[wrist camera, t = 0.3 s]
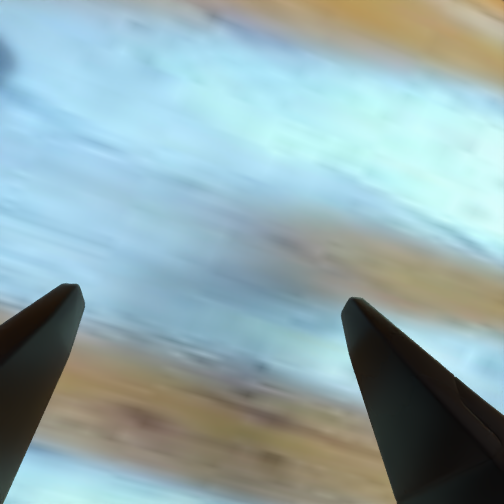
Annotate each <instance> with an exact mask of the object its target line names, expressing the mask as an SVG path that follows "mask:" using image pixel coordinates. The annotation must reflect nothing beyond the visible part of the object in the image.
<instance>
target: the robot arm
mask: <svg viewBox="0 0 504 504" xmlns="http://www.w3.org/2000/svg"><path fill="white" fill-rule="evenodd" d="M84 308H85V302H84V298H83V295H82V292H81V289H80V286H79V285H78V284H68V283H64V284H61V285H59V286H58V287H56V288H55V289H53V290H52V291H51V292H49V293H48V294H46V295H45V296H43V297H42V298H40V299H39V300H37V301H36V302H34V303H33V304H31V305H30V306H28V307H27V308H25V309H24V310H22V311H21V312H19V313H18V314H16V315H15V316H13V317H12V318H10V319H9V320H7V321H6V322H4V323H3V324H1V325H0V504H3V503H4V500H5V498H6V496H7V494H8V492H9V489H10V487H11V485H12V483H13V480H14V478H15V476H16V474H17V471H18V469H19V467H20V465H21V463H22V460H23V458H24V456H25V454H26V451H27V449H28V447H29V445H30V443H31V440H32V438H33V436H34V434H35V431H36V429H37V427H38V425H39V423H40V420H41V418H42V416H43V414H44V411H45V409H46V407H47V405H48V402H49V400H50V398H51V396H52V394H53V391H54V389H55V387H56V385H57V382H58V380H59V378H60V376H61V374H62V371H63V369H64V367H65V365H66V362H67V360H68V358H69V355H70V352H71V349H72V346H73V343H74V340H75V337H76V334H77V330H78V327H79V324H80V321H81V318H82V315H83V311H84ZM341 319H342V324H343V328H344V333H345V338H346V343H347V347H348V352H349V356H350V359H351V363H352V366H353V369H354V372H355V375H356V378H357V381H358V385H359V388H360V391H361V394H362V397H363V400H364V403H365V406H366V409H367V412H368V415H369V419H370V422H371V425H372V428H373V431H374V434H375V437H376V440H377V443H378V446H379V450H380V453H381V456H382V459H383V462H384V465H385V468H386V471H387V474H388V477H389V480H390V484H391V487H392V490H393V493H394V496H395V499H396V501H397V504H504V415H503V414H501V413H500V412H499V411H497V410H496V409H495V408H494V407H492V406H491V405H490V404H488V403H487V402H486V401H485V400H483V399H482V398H481V397H480V396H479V395H477V394H476V393H475V392H474V391H472V390H471V389H470V388H469V387H468V386H466V385H465V384H464V383H463V382H462V381H460V380H459V379H458V378H457V377H454V375H453V374H452V373H451V372H450V371H448V370H447V369H446V368H445V367H444V366H442V365H441V364H440V363H439V362H438V361H437V360H435V359H434V358H433V357H432V356H431V355H429V354H428V353H427V352H426V351H425V350H423V349H422V348H421V347H420V346H419V345H418V344H416V343H415V342H414V341H413V340H412V339H410V338H409V337H408V336H407V335H406V334H404V333H403V332H402V331H401V330H400V329H398V328H397V327H396V326H395V325H394V324H393V323H391V322H390V321H389V320H388V319H387V318H385V317H384V316H383V315H382V314H381V313H379V312H378V311H377V310H376V309H375V308H374V307H372V306H371V305H370V304H369V303H368V302H366V301H365V300H364V299H363V298H359V297H351V298H349V300H348V301H347V303H346V305H345V307H344V308H343V310H342V313H341Z"/></svg>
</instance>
